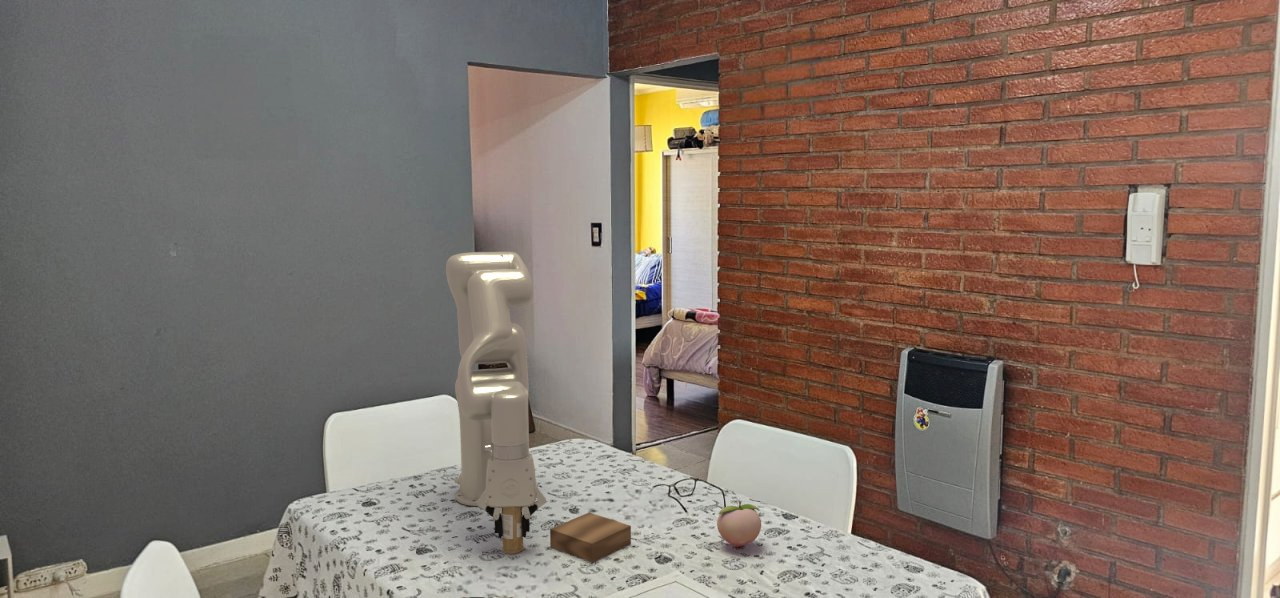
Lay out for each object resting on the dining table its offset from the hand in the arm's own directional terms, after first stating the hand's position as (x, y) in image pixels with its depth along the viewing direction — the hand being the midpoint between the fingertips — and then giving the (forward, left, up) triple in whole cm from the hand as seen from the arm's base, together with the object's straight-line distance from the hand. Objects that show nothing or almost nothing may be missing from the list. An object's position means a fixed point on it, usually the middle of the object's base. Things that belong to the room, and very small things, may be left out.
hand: (512, 534), depth 176 cm
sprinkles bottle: (0, 0, -4) cm, 4 cm away
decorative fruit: (+36, +31, -4) cm, 48 cm away
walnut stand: (+11, +12, -3) cm, 17 cm away
